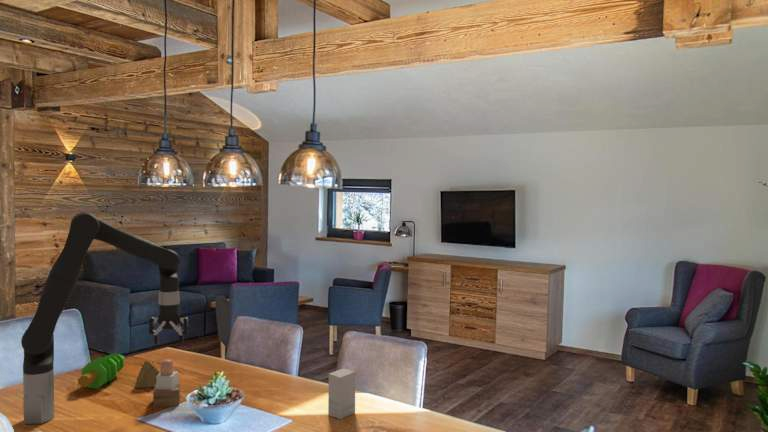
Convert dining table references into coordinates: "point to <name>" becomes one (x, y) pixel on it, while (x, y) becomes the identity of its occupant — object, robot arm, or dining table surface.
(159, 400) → the walnut block
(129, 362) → the dining table surface
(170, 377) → the grey block
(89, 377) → the decorative tree
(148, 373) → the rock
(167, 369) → the pinkish tan cube
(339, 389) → the skincare box
